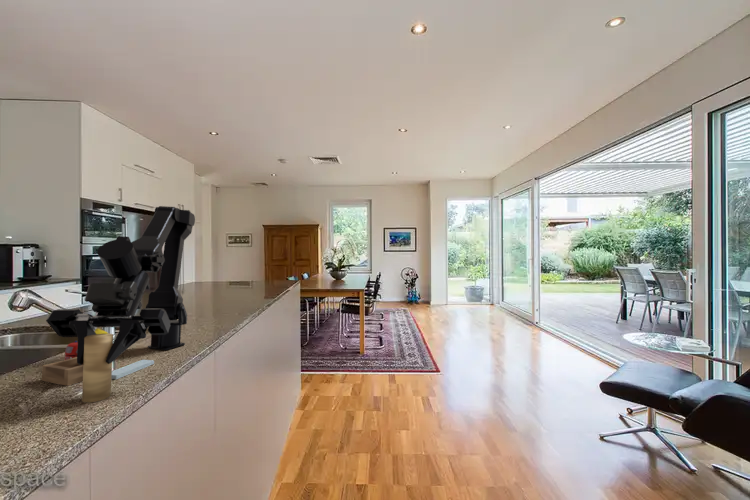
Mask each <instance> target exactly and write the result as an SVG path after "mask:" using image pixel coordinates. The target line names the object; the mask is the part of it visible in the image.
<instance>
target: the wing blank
mask: <svg viewBox="0 0 750 500" xmlns="http://www.w3.org/2000/svg"><path fill="white" fill-rule="evenodd" d="M154 364H155V360H153V359H151V360H150V359H141V360H138V361H136V362H132V363H130V364H128V365H125V366H123V367H119V368H116V369H115V370H112V378H111V380H118V379H121V378H123V377H125V376H128V375H131V374H133V373H135V372H138V371H140V370H143V369H145V368H147V367H150V366H152V365H154Z"/></svg>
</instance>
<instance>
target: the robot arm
mask: <svg viewBox="0 0 750 500" xmlns="http://www.w3.org/2000/svg"><path fill="white" fill-rule="evenodd" d="M195 223H196V216H195V214H194V213H192V212H191V210H189V209H180V208H178V207H175V206H166V205H164V206H163V205H160V206H156V207H155V208H154V214H153V216H152V218H151V220H150V221H149V222H148V224H147V226H146V227H145V229H144V231H143V233H142V235H141V236H140V237H139V238H137V239H135V240H133V241H131V238H130V237H129V236H119V235H118V236H117V237H116V239H112V240H110V241H107V242H105V243H103V244H102V245H100V246H98V248H97V255H98V257H99V259H100V261H101V263H102V265H103V266H104V268H105V271H106V272H107V274H108V276H109V277H112V278H114V281H113V282H91V283H89V285H88V288H87V291H86V295H85V297H84V302H86V303H87V302H88V303H90V304H92V307H91V310H92V311H93V313H97V314H96V315H92V314H91V313H90V314H89V313H83V312H82V311H81V310H80V308H71V309H70V308H60V309H54V310H52V311H51V312H50V313H49V315H48V317H47V318H46V320H45V322H46V323H47V325H48V326H50V327H51V328H52V330H53V331H54V332H55V334H56V335H57V336H58V337H62V338H77V342H78V349H77V363H78V364H79V365H82V364H83V362H84V338H85V337H86V336H90V335H95V334H96V333H95V330H96V328H100V327H102V328H119V330H118V333H117V335H116V336H115V339H114V340H113V345H112V347H111V349H110V351H109V353H108V356H107V359H106V362H107V364H110V363H112V364H113V362H115V360H116V359H117V358H118V357H120V355H122V354H123V353H125V352H126V350H127V349H129V348H130V347H131V346H133V345H134V344H135V343H137V342H138V341H140V340H142V339H146V337H147V334H146V332H148V333H149V334H150V345H147V346H146V347H147V349H152V350H160V351H167V350H171V349H174V348H178V347H181V346H185V344H186V343H185V342H183V341H181V338H182V337H181V334H182V333H181V332H182V326H183V325H188V313H187V310H186V307H185V304H184V303H183V302H184V298H183V296H182V294H181V292H180V291H179V284H180V283H179V281H180V274H181V269H182V268H181V267H182V261H183V260H182V258H183V251H184V245H185V244H184V243H185V240H186V239H187V238H189V236H190V235H191V234H192V231H193V226H195ZM163 246H164V247H163ZM162 249H163V250H162ZM159 270H160V274H159V280H158V285H157V288H156V289H154V291H151V292H150V293H149V294H148V301H147V304H146V306H145V308H142V307H143V306H142V305H143V304H142V302H141V300H142V298H143V296H144V294H145V291H146V290H150V288H151V285H150V275H149V274H148V273H158V272H159ZM137 310H140V312H139V315H135V314H136V313H137Z"/></svg>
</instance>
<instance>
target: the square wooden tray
mask: <svg viewBox="0 0 750 500" xmlns="http://www.w3.org/2000/svg"><path fill="white" fill-rule="evenodd" d="M41 366H42V367H41V381H42V382H45V383H52V384H55V385H61V386H68V387H69V386H71V385H75V384H78V383H82V382H83V364H82V365H79V364H78V363H77V357H75V358H71V359H67V360H65V359H64V360H60V361H56V362H52V363H47V364H43V365H41Z"/></svg>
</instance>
